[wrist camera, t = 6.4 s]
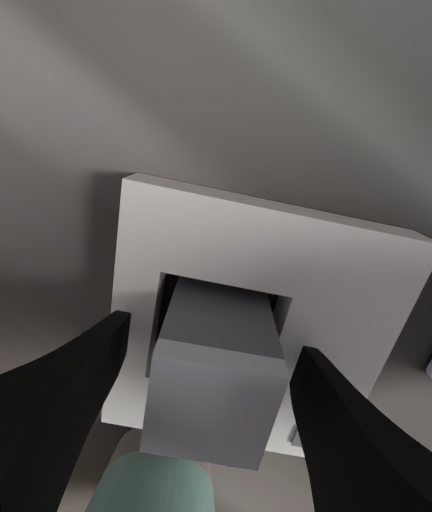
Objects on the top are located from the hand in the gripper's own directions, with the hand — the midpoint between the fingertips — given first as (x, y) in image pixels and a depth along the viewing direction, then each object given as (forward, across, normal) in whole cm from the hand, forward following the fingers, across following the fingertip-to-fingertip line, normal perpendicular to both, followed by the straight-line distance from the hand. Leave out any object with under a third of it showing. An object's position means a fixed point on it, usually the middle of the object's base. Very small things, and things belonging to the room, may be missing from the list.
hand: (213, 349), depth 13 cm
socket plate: (+3, -2, 0) cm, 3 cm away
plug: (+3, 0, 0) cm, 3 cm away
